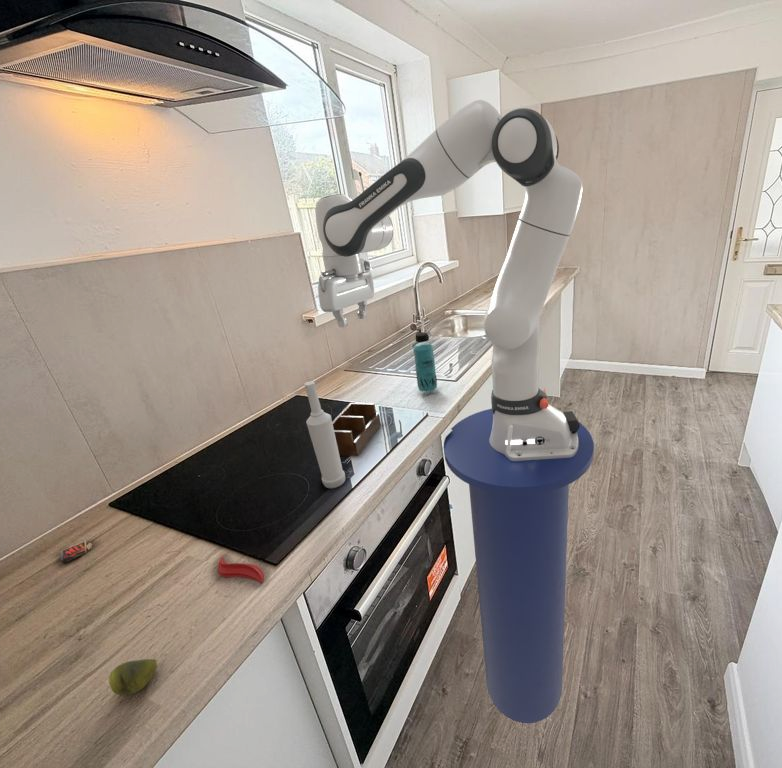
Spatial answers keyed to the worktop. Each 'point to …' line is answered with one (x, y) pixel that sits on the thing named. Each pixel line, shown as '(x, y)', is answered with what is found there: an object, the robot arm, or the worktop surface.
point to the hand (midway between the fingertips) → (353, 322)
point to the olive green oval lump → (132, 676)
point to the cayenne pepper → (240, 570)
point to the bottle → (324, 441)
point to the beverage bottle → (425, 363)
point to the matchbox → (74, 551)
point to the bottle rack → (355, 427)
